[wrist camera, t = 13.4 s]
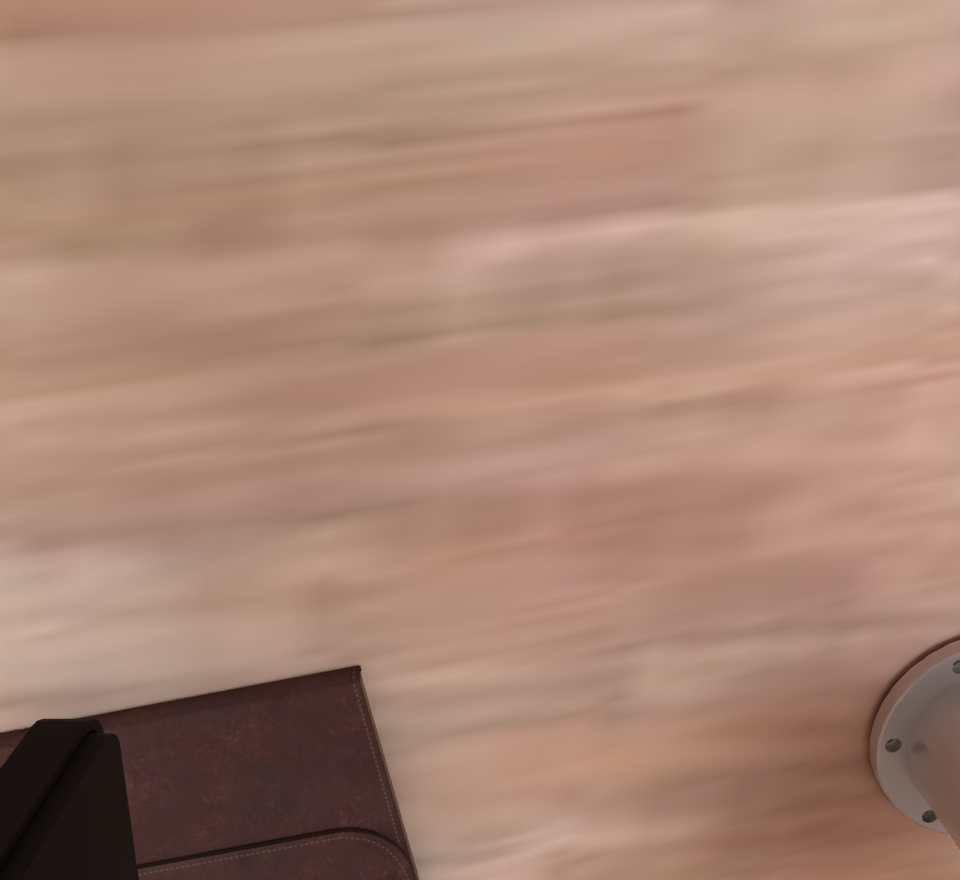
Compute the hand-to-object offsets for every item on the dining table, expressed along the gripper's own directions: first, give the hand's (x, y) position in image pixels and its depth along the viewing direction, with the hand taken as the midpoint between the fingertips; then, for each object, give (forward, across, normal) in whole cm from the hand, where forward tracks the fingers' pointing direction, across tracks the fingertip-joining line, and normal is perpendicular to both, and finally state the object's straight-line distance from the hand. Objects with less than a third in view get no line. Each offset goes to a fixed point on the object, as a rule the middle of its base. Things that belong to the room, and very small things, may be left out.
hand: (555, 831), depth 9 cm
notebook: (+32, +14, +28) cm, 45 cm away
